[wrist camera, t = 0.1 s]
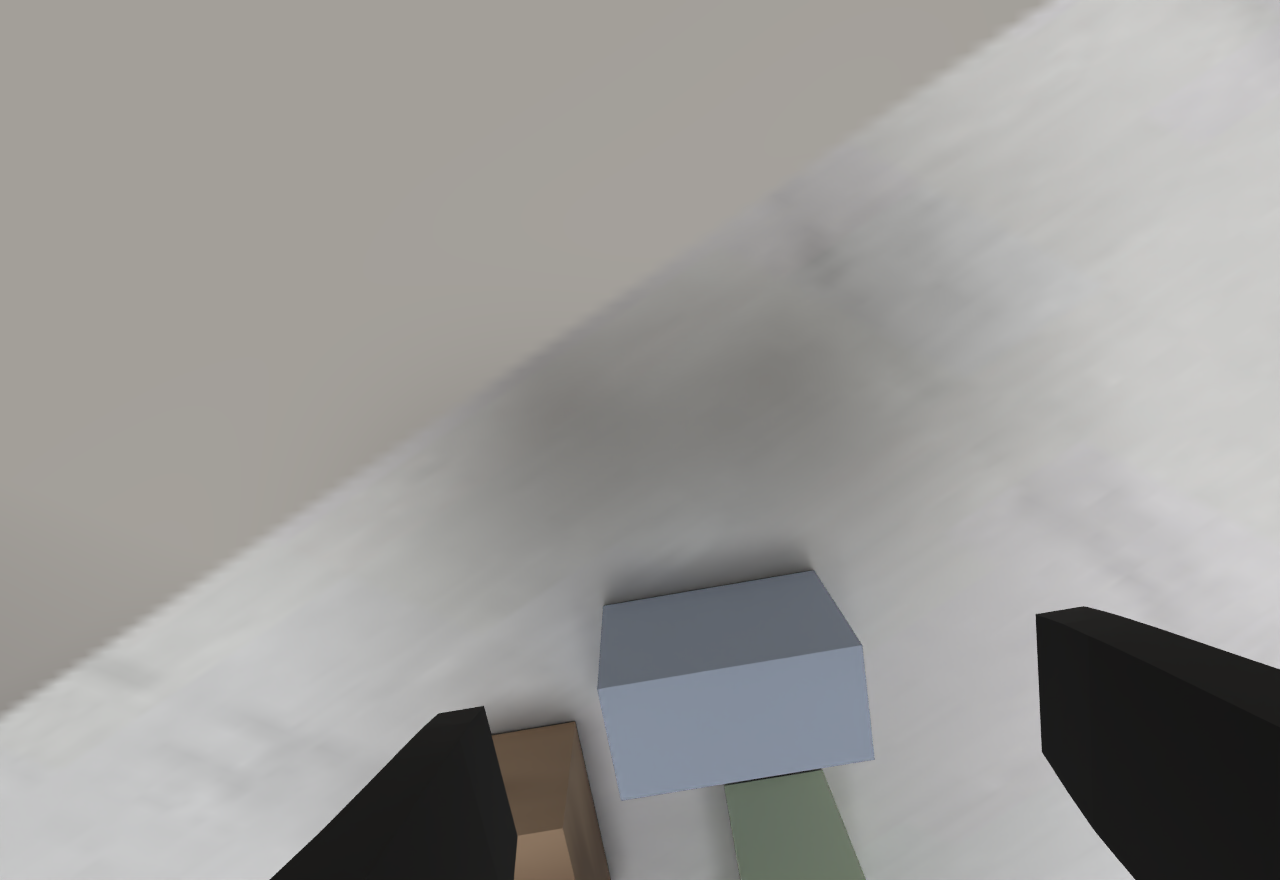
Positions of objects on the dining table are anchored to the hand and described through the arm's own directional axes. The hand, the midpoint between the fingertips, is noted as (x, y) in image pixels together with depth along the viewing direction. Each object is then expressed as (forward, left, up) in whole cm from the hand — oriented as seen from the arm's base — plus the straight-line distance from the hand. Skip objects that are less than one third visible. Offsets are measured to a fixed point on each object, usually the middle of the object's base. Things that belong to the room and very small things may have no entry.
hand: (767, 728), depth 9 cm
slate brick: (-4, 0, -10) cm, 11 cm away
